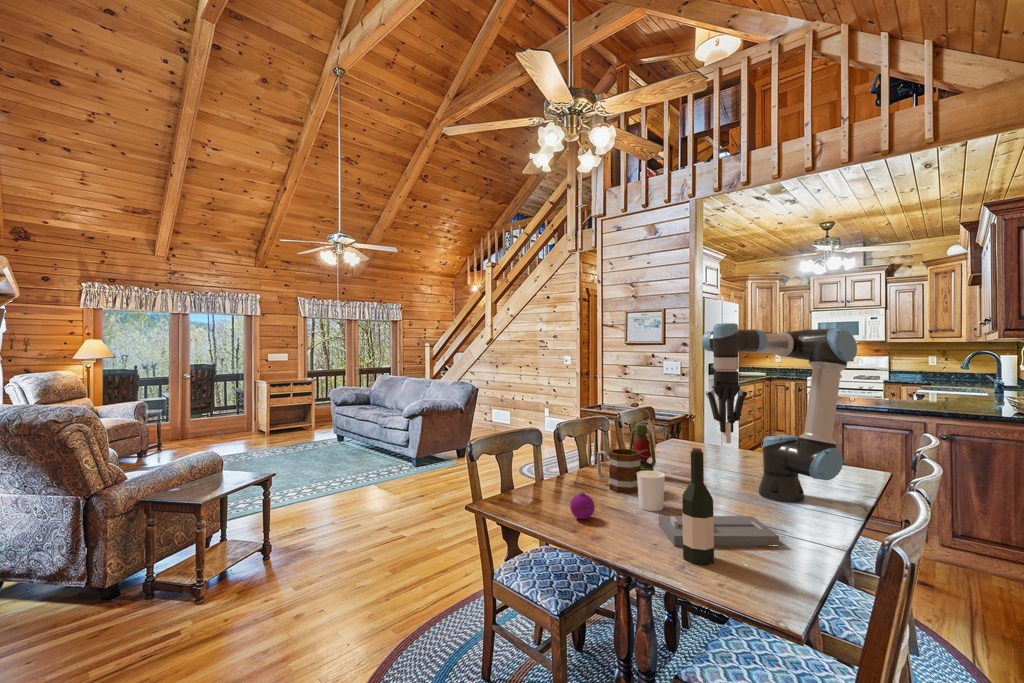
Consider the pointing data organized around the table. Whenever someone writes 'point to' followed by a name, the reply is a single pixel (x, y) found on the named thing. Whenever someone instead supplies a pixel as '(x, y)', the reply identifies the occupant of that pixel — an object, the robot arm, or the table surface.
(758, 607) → the table surface
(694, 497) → the wine bottle
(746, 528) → the panel
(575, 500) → the christmas ornament
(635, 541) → the table surface
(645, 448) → the lantern
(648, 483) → the candle holder
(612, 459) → the mug
